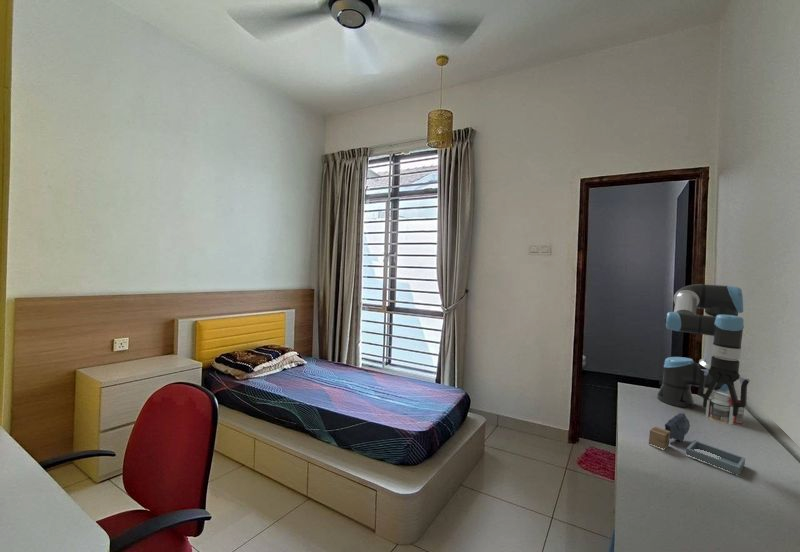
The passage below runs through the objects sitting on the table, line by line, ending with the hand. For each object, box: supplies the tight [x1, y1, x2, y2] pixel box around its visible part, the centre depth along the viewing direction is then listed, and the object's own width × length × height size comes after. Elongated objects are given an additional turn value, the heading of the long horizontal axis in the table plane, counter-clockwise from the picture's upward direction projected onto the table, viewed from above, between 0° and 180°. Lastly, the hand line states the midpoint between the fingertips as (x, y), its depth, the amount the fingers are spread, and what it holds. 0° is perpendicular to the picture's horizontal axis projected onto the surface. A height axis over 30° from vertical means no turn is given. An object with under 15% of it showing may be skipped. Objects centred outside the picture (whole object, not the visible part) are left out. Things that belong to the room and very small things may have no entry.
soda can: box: [729, 396, 745, 426], centre depth 165 cm, size 6×6×12 cm
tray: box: [685, 440, 746, 476], centre depth 132 cm, size 11×15×3 cm
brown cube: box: [648, 425, 670, 449], centre depth 141 cm, size 6×5×6 cm
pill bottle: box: [708, 391, 731, 425], centre depth 131 cm, size 6×6×10 cm
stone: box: [664, 412, 691, 443], centre depth 147 cm, size 14×6×10 cm, turn 129°
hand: (718, 419), depth 131 cm, fingers closed on pill bottle, 6 cm apart
